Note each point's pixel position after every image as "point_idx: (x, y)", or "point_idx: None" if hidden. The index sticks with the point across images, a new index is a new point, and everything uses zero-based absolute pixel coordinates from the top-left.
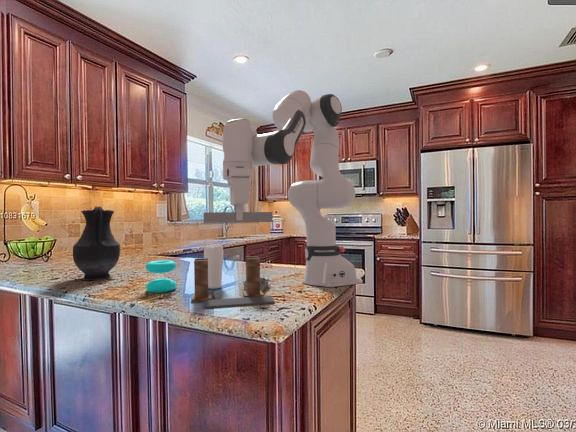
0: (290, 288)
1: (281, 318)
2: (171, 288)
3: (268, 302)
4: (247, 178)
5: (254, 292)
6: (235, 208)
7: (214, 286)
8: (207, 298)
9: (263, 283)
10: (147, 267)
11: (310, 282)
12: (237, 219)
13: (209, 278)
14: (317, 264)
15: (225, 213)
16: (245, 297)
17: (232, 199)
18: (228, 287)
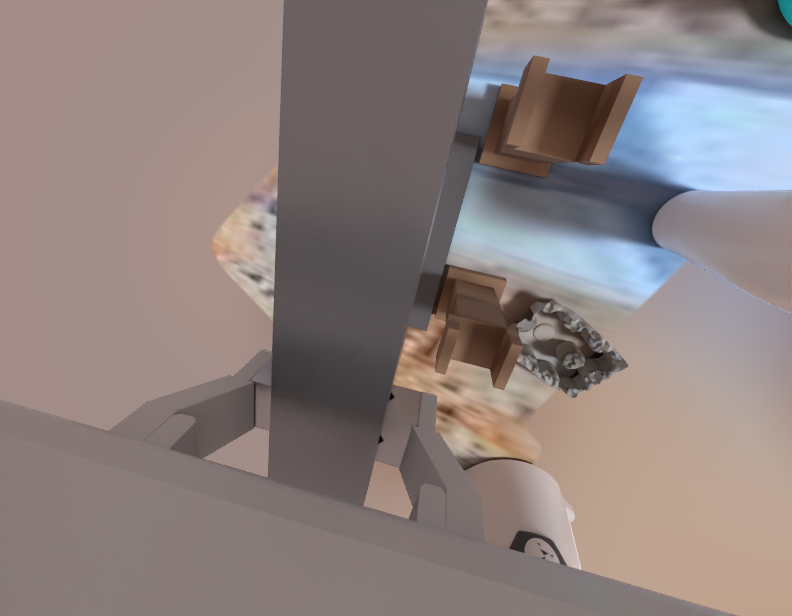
0: (492, 410)
1: (257, 277)
2: (782, 5)
3: None
4: None
5: (450, 300)
6: (420, 494)
7: (658, 216)
8: (484, 148)
9: (535, 363)
10: None
11: (492, 466)
12: (260, 356)
13: (695, 201)
14: (484, 524)
15: (282, 298)
16: (443, 266)
17: (159, 536)
18: (640, 270)
